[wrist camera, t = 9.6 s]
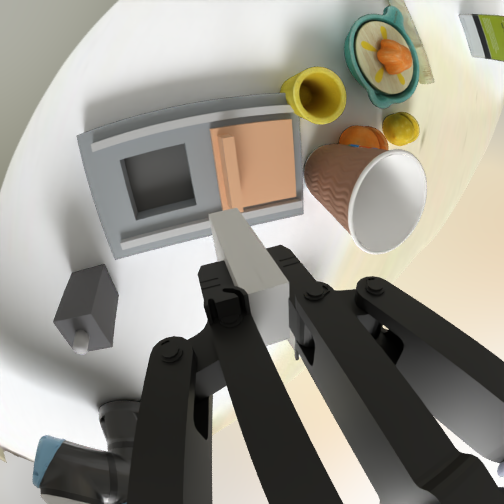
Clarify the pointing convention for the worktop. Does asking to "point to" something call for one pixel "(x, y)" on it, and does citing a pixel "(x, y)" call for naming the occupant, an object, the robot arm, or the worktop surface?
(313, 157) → the coffee cup
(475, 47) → the tea box
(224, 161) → the shutter
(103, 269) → the plug
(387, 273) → the worktop surface
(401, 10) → the toy juicer set
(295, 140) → the socket board
